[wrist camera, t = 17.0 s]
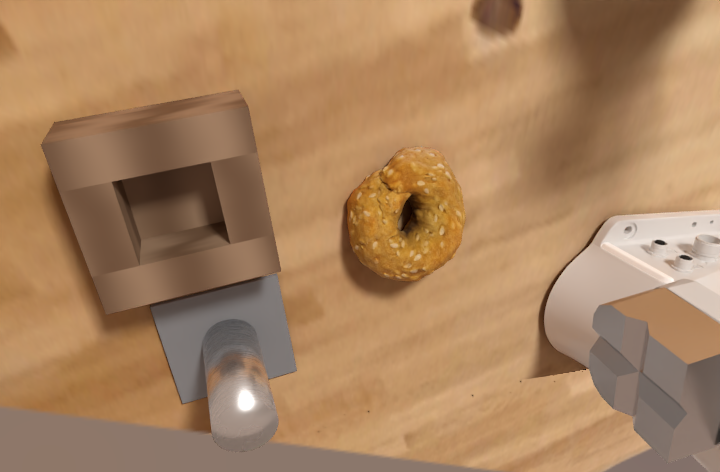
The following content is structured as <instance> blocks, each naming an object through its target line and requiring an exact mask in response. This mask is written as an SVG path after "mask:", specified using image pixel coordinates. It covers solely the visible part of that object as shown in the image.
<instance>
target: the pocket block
mask: <svg viewBox="0 0 720 472" xmlns="http://www.w3.org/2000/svg"><path fill="white" fill-rule="evenodd" d="M41 146H42V149H43V152H44V154H45V157H46V159H47V162H48V165H49V167H50V170H51V172H52V175H53V178H54V180H55V183H56V185H57V188H58V191H59V193H60V196H61V198H62V201H63V204H64V206H65V209H66V212H67V214H68V217H69V219H70V222H71V225H72V227H73V230H74V232H75V235H76V238H77V240H78V243H79V245H80V248H81V251H82V253H83V256H84V258H85V261H86V264H87V266H88V269H89V271H90V274H91V277H92V279H93V282H94V284H95V287H96V290H97V292H98V295H99V297H100V300H101V303H102V305H103V308H104V310H105V313H106V315H108V314H112V313H116V312H120V311H124V310H128V309H132V308H136V307H140V306H144V305H148V304H152V303H156V302H160V301H164V300H168V299H172V298H176V297H180V296H184V295H188V294H192V293H196V292H200V291H204V290H208V289H212V288H216V287H220V286H224V285H228V284H232V283H236V282H240V281H244V280H248V279H252V278H256V277H260V276H264V275H268V274H272V273H276V272H280V271H281V267H280V262H279V257H278V252H277V247H276V242H275V237H274V232H273V227H272V222H271V218H270V213H269V208H268V203H267V198H266V193H265V188H264V183H263V178H262V173H261V168H260V163H259V158H258V153H257V148H256V143H255V138H254V133H253V128H252V123H251V118H250V113H249V108H248V105H247V104H246V102H245V100H244V98H243V97H242V95H241V93H240V91H239V90H235V91H229V92H223V93H218V94H212V95H206V96H201V97H195V98H189V99H184V100H178V101H173V102H167V103H161V104H156V105H150V106H144V107H139V108H133V109H128V110H122V111H116V112H111V113H105V114H99V115H94V116H88V117H83V118H77V119H71V120H66V121H60V122H54V124H53V126H52V127H51V129H50V130H49V132H48V134H47V135H46V137H45V139H44V140H43V142H42V144H41Z"/></svg>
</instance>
